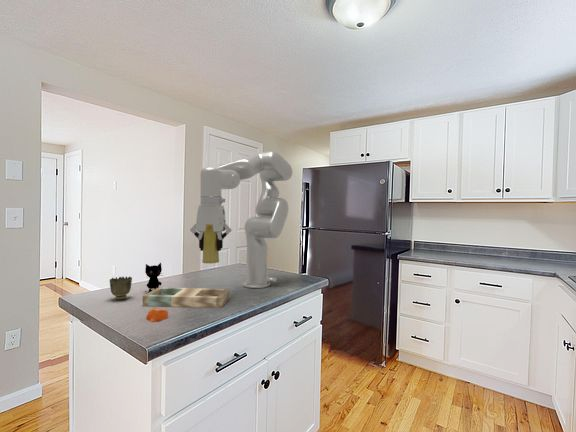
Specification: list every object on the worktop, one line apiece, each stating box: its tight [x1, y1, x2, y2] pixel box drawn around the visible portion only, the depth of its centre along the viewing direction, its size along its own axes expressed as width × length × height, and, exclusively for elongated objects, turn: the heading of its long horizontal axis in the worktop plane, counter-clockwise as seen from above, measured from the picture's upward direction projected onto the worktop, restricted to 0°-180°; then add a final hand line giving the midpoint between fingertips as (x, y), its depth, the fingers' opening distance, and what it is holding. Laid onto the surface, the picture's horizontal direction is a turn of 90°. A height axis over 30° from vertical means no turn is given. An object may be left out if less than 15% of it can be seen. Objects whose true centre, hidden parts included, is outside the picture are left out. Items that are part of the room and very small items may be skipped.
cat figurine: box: [144, 262, 165, 293], centre depth 121 cm, size 7×7×12 cm
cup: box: [109, 276, 133, 301], centre depth 110 cm, size 8×7×8 cm
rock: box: [145, 307, 169, 323], centre depth 92 cm, size 12×12×4 cm
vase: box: [201, 224, 220, 265], centre depth 109 cm, size 6×6×14 cm
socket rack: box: [142, 286, 230, 309], centre depth 109 cm, size 28×12×4 cm, turn 89°
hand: (210, 249), depth 109 cm, fingers closed on vase, 5 cm apart
